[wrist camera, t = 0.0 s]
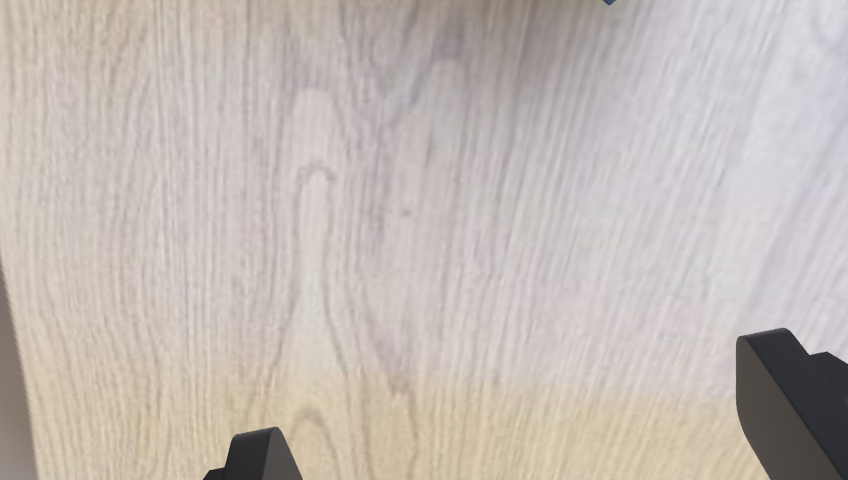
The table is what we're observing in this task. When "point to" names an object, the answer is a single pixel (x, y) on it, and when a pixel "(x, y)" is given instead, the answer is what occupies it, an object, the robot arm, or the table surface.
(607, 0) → the rectangular box
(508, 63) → the table surface
